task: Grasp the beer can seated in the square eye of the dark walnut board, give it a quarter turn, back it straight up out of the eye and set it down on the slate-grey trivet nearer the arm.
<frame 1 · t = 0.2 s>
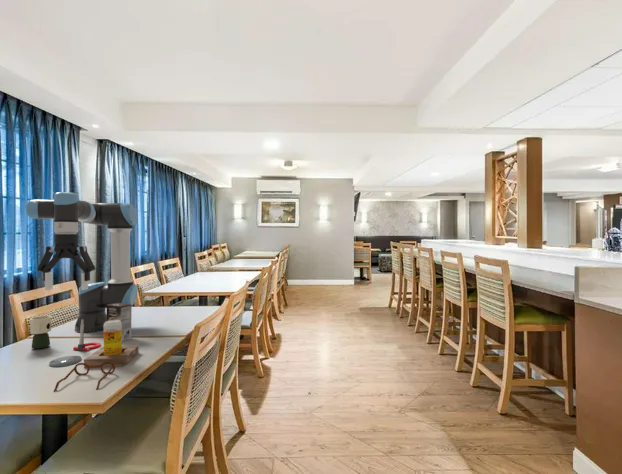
hand: (66, 289, 130), 28 cm above the table, fingers open, 13 cm apart
glasses: (86, 384, 114), on the table
tow hook: (88, 347, 149), on the table
trivet: (65, 361, 132), on the table
coffee box: (119, 339, 160), on the table
beer can: (112, 360, 134), resting in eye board
character mug: (41, 348, 148), on the table
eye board: (112, 359, 134), on the table
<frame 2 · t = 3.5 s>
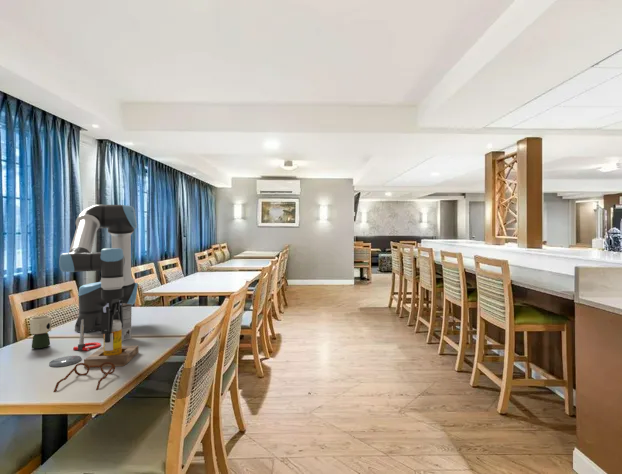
hand: (112, 347, 134), 5 cm above the table, fingers closed on beer can, 6 cm apart
beer can: (112, 360, 134), resting in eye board, touching gripper
everything else where it was.
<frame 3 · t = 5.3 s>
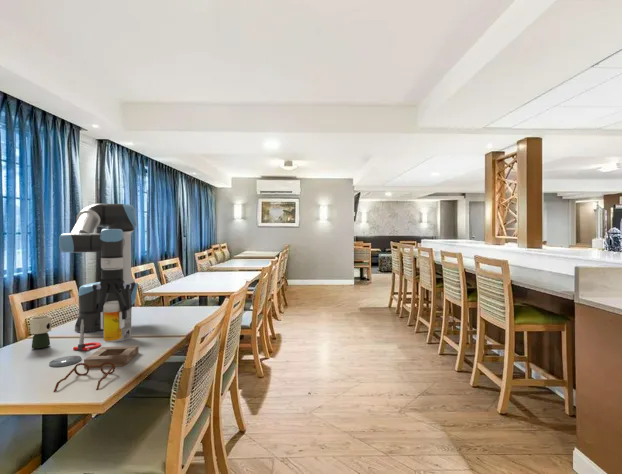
hand: (112, 327, 134), 12 cm above the table, fingers closed on beer can, 6 cm apart
beer can: (112, 340, 134), point 7 cm above the table, touching gripper
everything else where it was.
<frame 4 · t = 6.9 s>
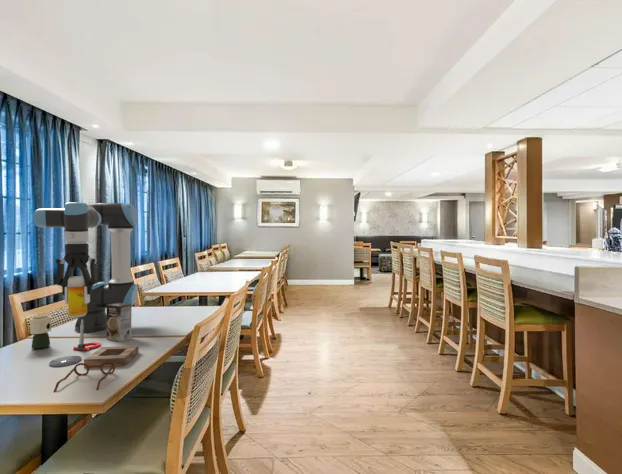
hand: (77, 303, 132), 22 cm above the table, fingers closed on beer can, 6 cm apart
beer can: (77, 316, 132), point 17 cm above the table, touching gripper
everything else where it was.
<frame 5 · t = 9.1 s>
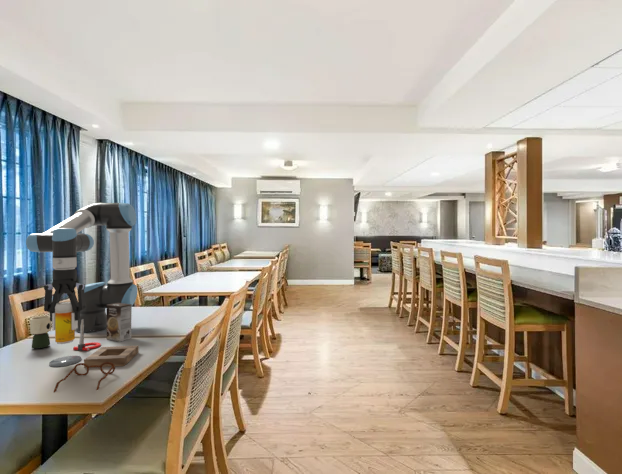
hand: (65, 329, 131), 13 cm above the table, fingers closed on beer can, 6 cm apart
beer can: (65, 342, 131), point 7 cm above the table, touching gripper
everything else where it was.
when the fingers open (6 cm above the table, at t = 10.7 s): beer can stays where it is, resting on trivet.
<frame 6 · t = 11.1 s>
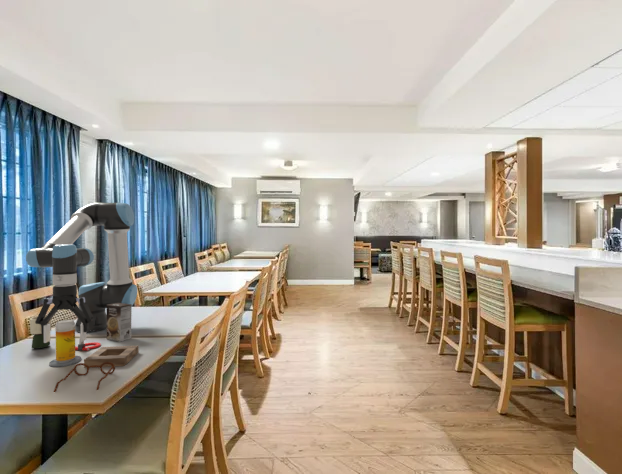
hand: (65, 341, 132), 8 cm above the table, fingers open, 12 cm apart
beer can: (65, 360, 132), resting on trivet
everything else where it was.
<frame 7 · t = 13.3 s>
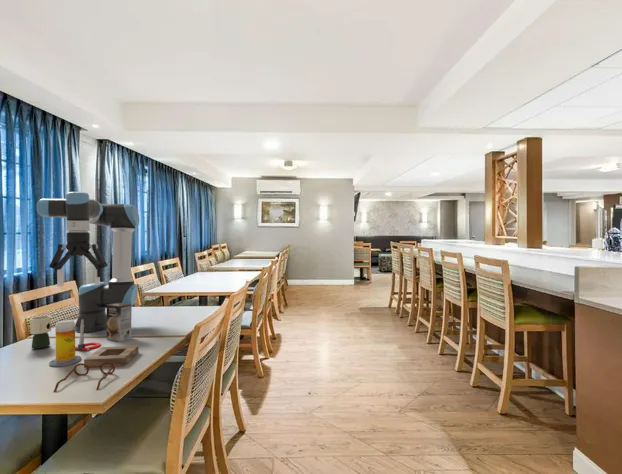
hand: (79, 285, 136), 29 cm above the table, fingers open, 13 cm apart
nothing on the table moved.
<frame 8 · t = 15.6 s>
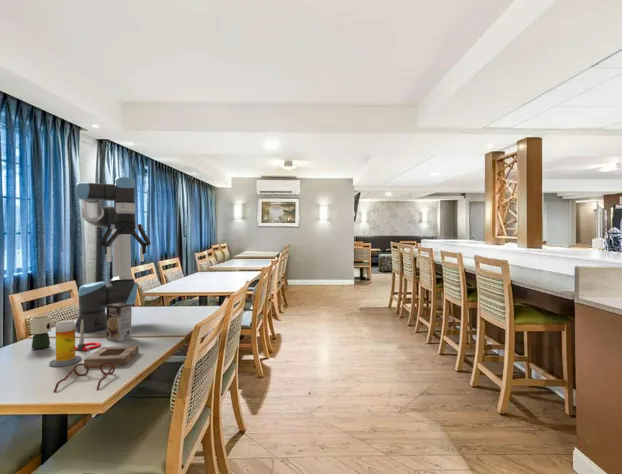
hand: (125, 261, 151), 37 cm above the table, fingers open, 13 cm apart
nothing on the table moved.
at the end: beer can inside the target area on the trivet (0.0 cm from its centre), point 0.4 cm above the trivet's base; beer can tilted 0°; the gripper is holding nothing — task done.
